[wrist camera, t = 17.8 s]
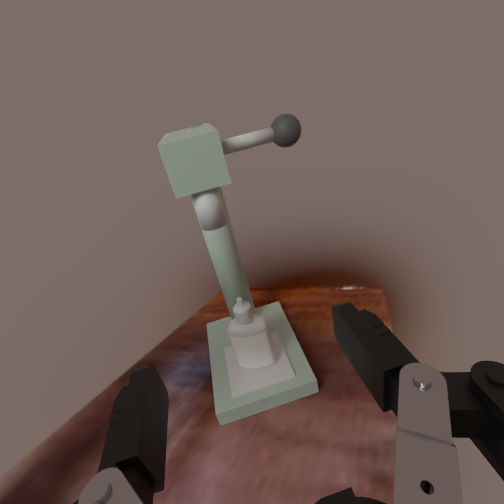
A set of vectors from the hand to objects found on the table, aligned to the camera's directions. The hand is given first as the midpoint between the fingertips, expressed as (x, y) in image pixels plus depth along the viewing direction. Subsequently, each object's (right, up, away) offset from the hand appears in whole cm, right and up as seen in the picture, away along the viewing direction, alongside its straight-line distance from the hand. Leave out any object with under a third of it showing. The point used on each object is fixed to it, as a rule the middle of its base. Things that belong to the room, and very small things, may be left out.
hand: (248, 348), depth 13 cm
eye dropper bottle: (+1, -12, +31) cm, 33 cm away
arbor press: (+4, -12, +35) cm, 37 cm away
